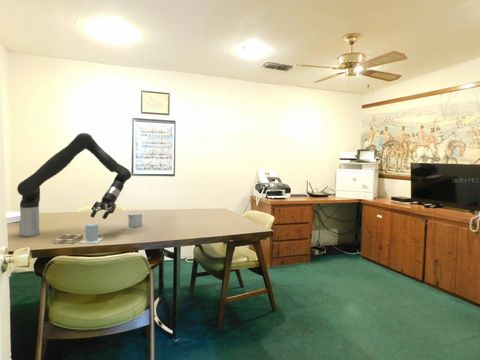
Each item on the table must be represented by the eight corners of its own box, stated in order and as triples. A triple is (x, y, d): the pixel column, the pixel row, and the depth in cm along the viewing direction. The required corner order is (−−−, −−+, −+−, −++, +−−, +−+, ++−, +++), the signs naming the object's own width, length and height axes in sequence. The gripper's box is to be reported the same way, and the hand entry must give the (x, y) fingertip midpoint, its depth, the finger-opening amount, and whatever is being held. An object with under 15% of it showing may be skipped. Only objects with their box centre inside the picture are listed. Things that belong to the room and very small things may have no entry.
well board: (53, 243, 167) (53, 239, 167) (64, 237, 178) (63, 234, 178) (73, 243, 168) (73, 239, 168) (83, 238, 179) (83, 234, 179)
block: (85, 240, 172) (85, 225, 171) (91, 238, 177) (91, 223, 176) (92, 241, 171) (92, 226, 170) (98, 239, 175) (97, 224, 174)
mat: (79, 243, 168) (79, 242, 168) (87, 238, 178) (87, 237, 178) (96, 243, 169) (96, 242, 169) (103, 238, 179) (103, 238, 179)
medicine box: (138, 225, 215) (138, 213, 214) (142, 226, 212) (142, 213, 211) (128, 226, 209) (128, 214, 208) (131, 228, 206) (131, 215, 205)
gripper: (98, 191, 186) (84, 212, 176) (118, 192, 182) (104, 215, 172) (105, 198, 192) (91, 220, 182) (123, 200, 187) (110, 222, 178)
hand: (97, 217), depth 177 cm, fingers open, 8 cm apart
